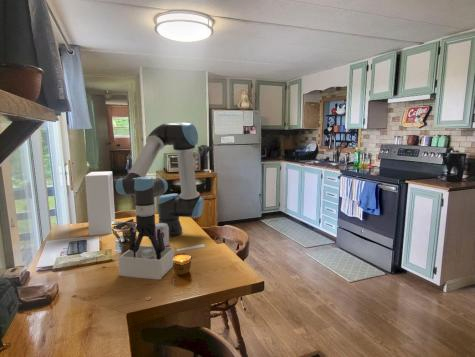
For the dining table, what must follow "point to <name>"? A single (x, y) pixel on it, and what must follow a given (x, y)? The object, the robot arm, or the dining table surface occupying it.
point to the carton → (146, 264)
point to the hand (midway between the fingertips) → (147, 266)
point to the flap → (133, 257)
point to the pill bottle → (147, 254)
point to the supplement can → (163, 233)
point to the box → (100, 202)
